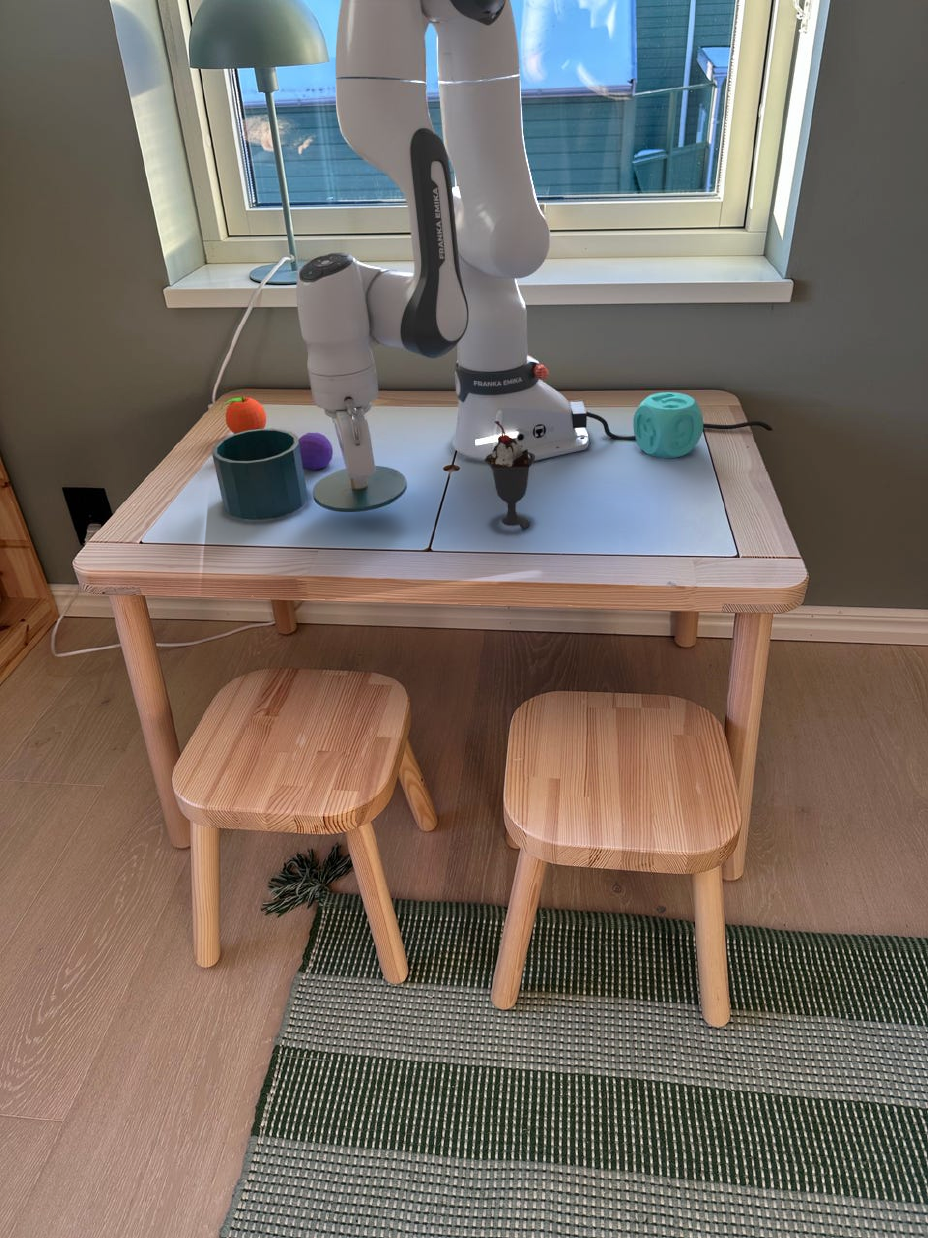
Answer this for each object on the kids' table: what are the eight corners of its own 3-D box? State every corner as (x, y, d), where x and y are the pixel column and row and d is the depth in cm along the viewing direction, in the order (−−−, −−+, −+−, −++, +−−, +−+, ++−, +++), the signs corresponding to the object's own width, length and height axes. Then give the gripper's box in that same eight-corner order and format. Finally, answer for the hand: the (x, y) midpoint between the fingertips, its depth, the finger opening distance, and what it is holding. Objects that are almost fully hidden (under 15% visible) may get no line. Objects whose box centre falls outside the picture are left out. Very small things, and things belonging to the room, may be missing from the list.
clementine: (217, 444, 159) (209, 404, 155) (232, 428, 165) (224, 390, 161) (261, 444, 158) (254, 405, 154) (274, 429, 163) (268, 390, 159)
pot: (305, 481, 145) (296, 424, 139) (310, 516, 134) (300, 456, 129) (225, 491, 143) (213, 434, 138) (224, 528, 133) (210, 467, 127)
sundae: (488, 514, 132) (484, 414, 124) (534, 512, 132) (533, 413, 123) (487, 536, 127) (483, 434, 118) (536, 534, 126) (535, 432, 118)
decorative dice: (672, 434, 152) (676, 388, 148) (701, 451, 146) (706, 403, 142) (631, 444, 150) (633, 397, 145) (658, 462, 144) (662, 413, 139)
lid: (399, 467, 137) (395, 434, 134) (414, 506, 126) (410, 472, 123) (310, 481, 135) (304, 448, 132) (318, 522, 124) (311, 488, 122)
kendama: (229, 429, 154) (336, 428, 147) (235, 464, 156) (340, 465, 149) (209, 436, 148) (319, 436, 142) (215, 472, 151) (324, 474, 144)
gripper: (378, 409, 114) (391, 508, 122) (358, 358, 130) (371, 448, 138) (328, 417, 113) (344, 516, 121) (314, 365, 130) (329, 455, 137)
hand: (358, 480), depth 130 cm, fingers closed on lid, 2 cm apart
